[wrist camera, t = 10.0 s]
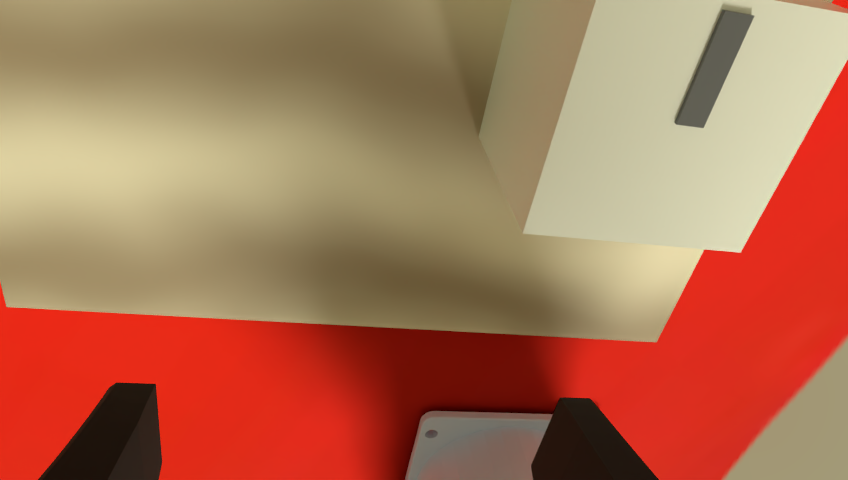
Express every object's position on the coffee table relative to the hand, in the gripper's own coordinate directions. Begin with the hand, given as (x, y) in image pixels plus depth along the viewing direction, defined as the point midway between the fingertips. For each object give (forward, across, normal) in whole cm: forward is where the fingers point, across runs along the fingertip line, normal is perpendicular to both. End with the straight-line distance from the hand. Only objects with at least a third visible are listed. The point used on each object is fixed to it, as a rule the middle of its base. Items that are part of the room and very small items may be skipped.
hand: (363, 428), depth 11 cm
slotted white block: (+8, -6, -5) cm, 12 cm away
